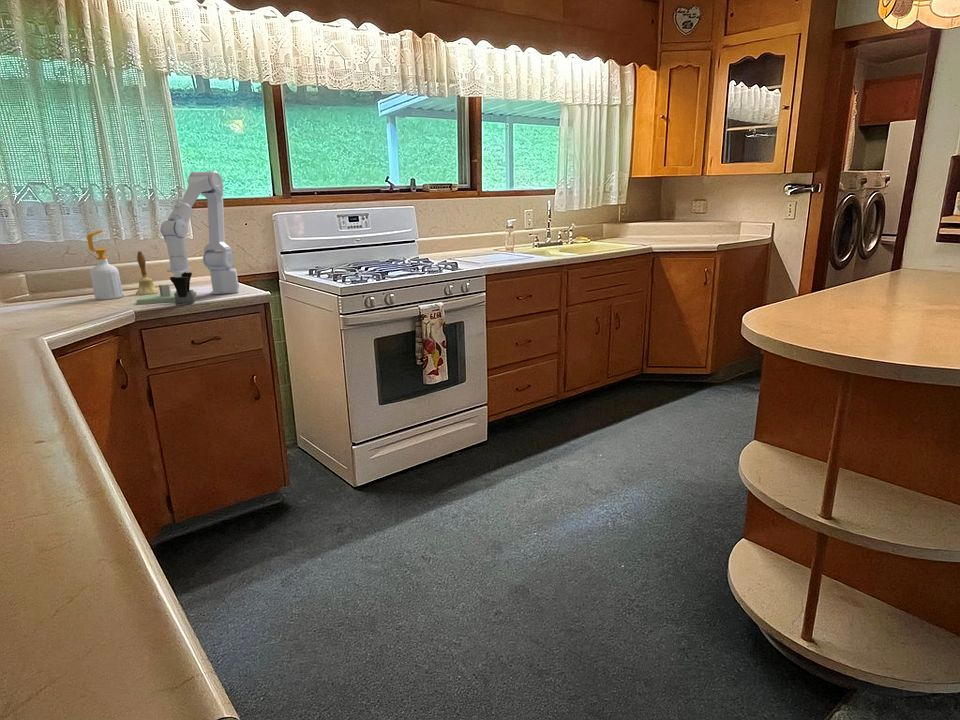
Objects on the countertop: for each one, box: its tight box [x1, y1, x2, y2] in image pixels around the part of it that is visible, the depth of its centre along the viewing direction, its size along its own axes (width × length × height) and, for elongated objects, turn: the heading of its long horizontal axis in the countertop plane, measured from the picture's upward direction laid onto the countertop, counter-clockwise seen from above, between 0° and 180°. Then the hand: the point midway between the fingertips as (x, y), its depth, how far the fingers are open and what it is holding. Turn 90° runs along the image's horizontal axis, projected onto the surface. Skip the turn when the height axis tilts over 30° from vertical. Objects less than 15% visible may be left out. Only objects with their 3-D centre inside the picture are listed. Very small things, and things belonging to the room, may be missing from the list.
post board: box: [136, 283, 198, 305], centre depth 219 cm, size 18×10×6 cm, turn 108°
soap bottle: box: [86, 229, 124, 301], centre depth 224 cm, size 9×9×25 cm
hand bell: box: [135, 251, 160, 296], centre depth 233 cm, size 8×8×16 cm
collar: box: [173, 289, 196, 306], centre depth 213 cm, size 5×5×4 cm
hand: (184, 295), depth 212 cm, fingers open, 7 cm apart
